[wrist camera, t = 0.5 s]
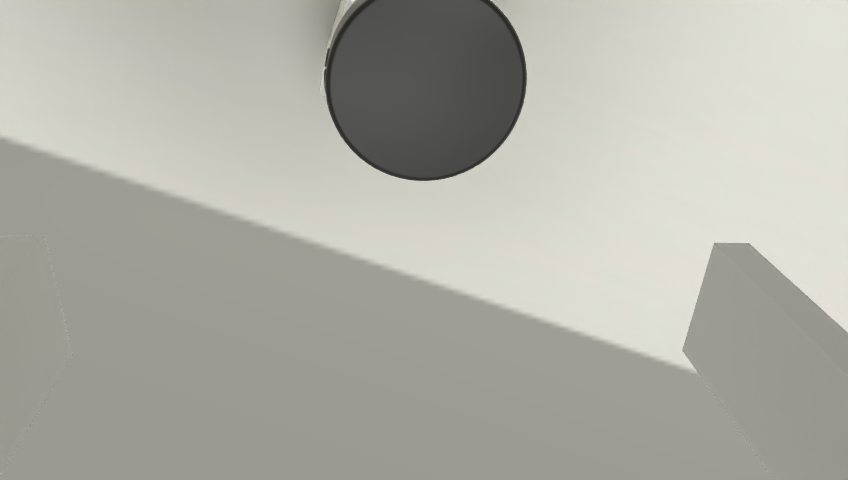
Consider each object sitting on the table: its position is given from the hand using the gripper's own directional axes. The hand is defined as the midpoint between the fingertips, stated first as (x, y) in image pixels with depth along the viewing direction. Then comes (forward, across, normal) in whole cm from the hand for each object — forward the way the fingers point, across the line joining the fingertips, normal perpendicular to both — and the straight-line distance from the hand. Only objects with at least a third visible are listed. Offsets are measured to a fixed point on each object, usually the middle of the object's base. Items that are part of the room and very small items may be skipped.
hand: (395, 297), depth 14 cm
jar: (+27, +2, 0) cm, 27 cm away
